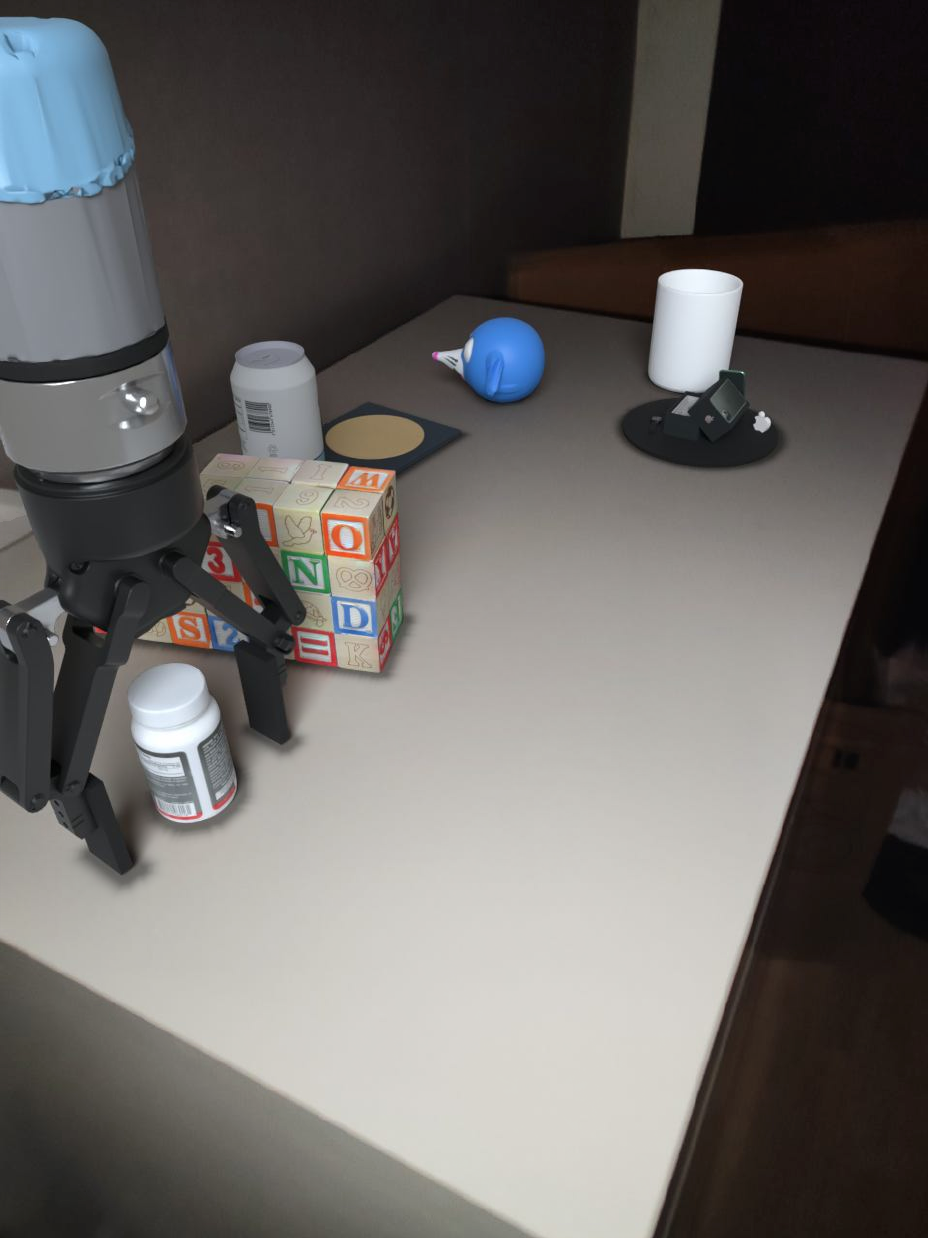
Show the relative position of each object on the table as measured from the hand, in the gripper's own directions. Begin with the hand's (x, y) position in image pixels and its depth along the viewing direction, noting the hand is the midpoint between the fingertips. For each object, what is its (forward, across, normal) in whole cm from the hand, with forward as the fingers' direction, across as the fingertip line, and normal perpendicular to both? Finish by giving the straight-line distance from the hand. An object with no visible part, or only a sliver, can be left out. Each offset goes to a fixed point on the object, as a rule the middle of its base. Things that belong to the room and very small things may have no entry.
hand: (196, 791), depth 53 cm
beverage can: (0, +29, +21) cm, 36 cm away
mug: (0, +74, +3) cm, 74 cm away
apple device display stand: (0, +61, -4) cm, 61 cm away
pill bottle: (0, 0, 0) cm, 0 cm away
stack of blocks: (0, +13, +9) cm, 16 cm away
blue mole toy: (0, +56, +18) cm, 59 cm away
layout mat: (0, +35, +21) cm, 41 cm away
